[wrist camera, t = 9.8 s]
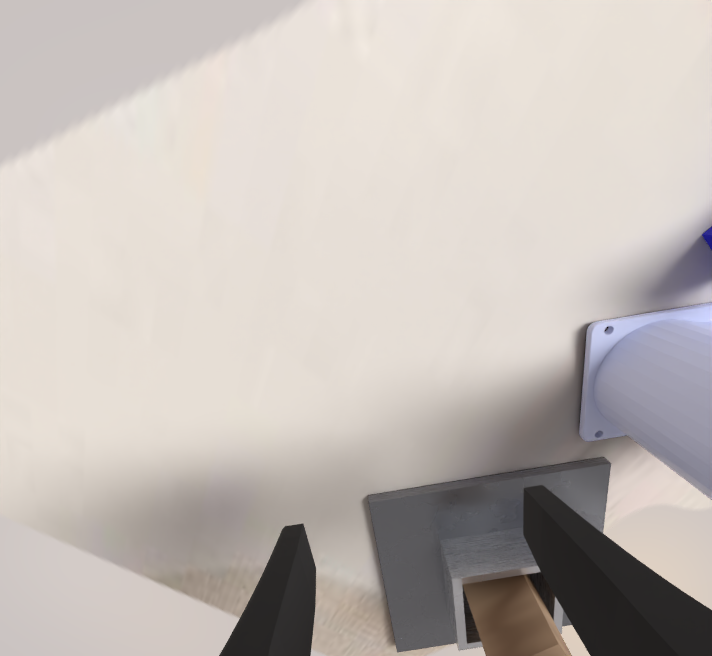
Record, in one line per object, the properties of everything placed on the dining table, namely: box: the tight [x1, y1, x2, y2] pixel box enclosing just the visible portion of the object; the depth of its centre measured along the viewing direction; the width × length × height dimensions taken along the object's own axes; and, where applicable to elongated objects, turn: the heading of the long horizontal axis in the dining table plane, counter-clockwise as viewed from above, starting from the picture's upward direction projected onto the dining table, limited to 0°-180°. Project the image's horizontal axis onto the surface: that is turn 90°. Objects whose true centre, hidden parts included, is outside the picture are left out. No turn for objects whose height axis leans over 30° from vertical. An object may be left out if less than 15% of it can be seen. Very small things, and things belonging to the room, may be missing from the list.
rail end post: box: [462, 574, 572, 656], centre depth 21 cm, size 4×4×6 cm
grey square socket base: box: [368, 457, 611, 652], centre depth 23 cm, size 16×16×3 cm
